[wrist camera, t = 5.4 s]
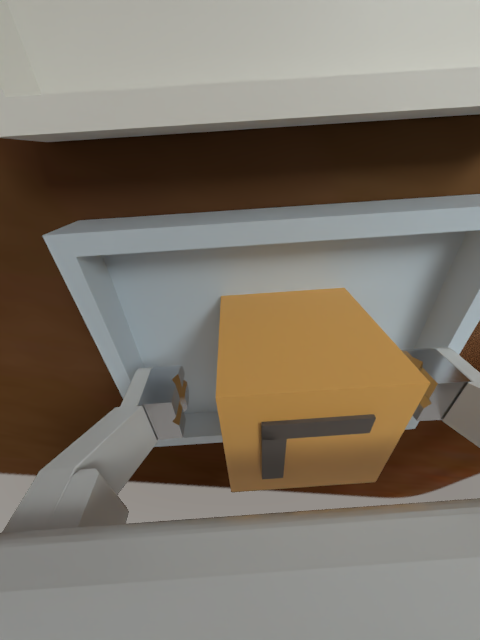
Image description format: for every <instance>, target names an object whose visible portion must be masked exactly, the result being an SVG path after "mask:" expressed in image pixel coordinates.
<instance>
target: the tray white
mask: <svg viewBox="0 0 480 640" xmlns="http://www.w3.org/2000/svg"><path fill="white" fill-rule="evenodd" d="M476 114H480V0H0V138H7V139H18V140H29V141H40V142H58V141H73V140H89V139H104V138H120V137H135V136H151V135H166V134H182V133H197V132H213V131H228V130H244V129H259V128H275V127H290V126H306V125H321V124H337V123H352V122H368V121H383V120H399V119H414V118H430V117H445V116H461V115H476Z"/></svg>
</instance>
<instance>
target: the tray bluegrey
mask: <svg viewBox="0 0 480 640" xmlns="http://www.w3.org/2000/svg"><path fill="white" fill-rule="evenodd" d="M42 236H43V238H44V240H45V242H46V244H47V246H48V248H49V250H50V252H51V254H52V256H53V258H54V261H55V263H56V265H57V267H58V269H59V271H60V273H61V275H62V277H63V279H64V281H65V283H66V285H67V287H68V289H69V291H70V293H71V295H72V297H73V299H74V301H75V303H76V305H77V307H78V309H79V311H80V313H81V315H82V317H83V319H84V321H85V323H86V325H87V327H88V329H89V331H90V333H91V335H92V337H93V339H94V341H95V343H96V345H97V347H98V349H99V351H100V353H101V356H102V358H103V360H104V362H105V364H106V366H107V368H108V370H109V372H110V374H111V376H112V378H113V380H114V382H115V384H116V386H117V388H118V390H119V392H120V394H121V396H122V398H123V399H124V397H125V394H126V392H127V390H128V388H129V385H130V383H131V381H132V379H133V376H134V374H135V372H136V370H137V369H139V368H148V367H162V366H183V369H184V372H185V375H184V380H185V381H186V382H187V384H188V389H189V403H188V409H187V410H186V411H185V412H184V415H185V418H186V422H185V428H184V434H183V438H173V439H163V440H157V441H158V442H157V443H156V445H155V446H154V447H162V446H176V445H190V444H205V443H219V442H223V439H222V433H221V427H220V422H219V416H218V410H217V404H216V379H217V360H218V341H219V322H220V303H221V296H228V295H243V294H258V293H272V292H287V291H302V290H317V289H332V288H345V289H346V290H347V291H348V292H349V293H350V294H351V295H352V296H353V298H354V299H355V300H356V301H357V302H358V303H359V304H360V305H361V306H362V308H363V309H364V310H365V311H366V312H367V313H368V314H369V315H370V316H371V317H372V319H373V320H374V321H375V322H376V323H377V324H378V325H379V326H380V327H381V329H382V330H383V331H384V332H385V333H386V334H387V335H388V336H389V337H390V339H391V340H392V341H393V342H394V343H395V344H396V345H397V346H398V347H399V348H400V350H409V349H422V348H433V347H445V346H446V347H448V348H451V349H452V350H453V351H455V352H456V353H457V354H458V355H459V354H460V352H461V350H462V349H463V347H464V345H465V344H466V342H467V340H468V339H469V337H470V335H471V334H472V332H473V330H474V329H475V327H476V325H477V324H478V322H479V320H480V194H473V195H458V196H443V197H427V198H412V199H397V200H382V201H367V202H351V203H336V204H321V205H306V206H291V207H276V208H260V209H245V210H230V211H215V212H200V213H185V214H169V215H154V216H139V217H124V218H109V219H93V220H78V221H76V222H74V223H71V224H69V225H66V226H64V227H62V228H59V229H57V230H54V231H52V232H49V233H47V234H45V235H42ZM418 423H419V421H416V420H415V418H414V417H413V416H412V417H411V419H410V421H409V423H408V425H407V426H406V428H405V429H415V428H416V426H417V424H418Z"/></svg>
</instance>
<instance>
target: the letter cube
mask: <svg viewBox="0 0 480 640" xmlns="http://www.w3.org/2000/svg"><path fill="white" fill-rule="evenodd" d="M429 385H430V382H429V381H428V379H427V378H426V377H425V376H424V375H423V374H422V373H421V372H420V371H419V370H418V368H417V367H416V366H415V365H414V364H413V363H412V362H411V361H410V360H409V358H408V357H407V356H406V355H405V354H404V353H403V352H402V351H401V350H400V348H399V347H398V346H397V345H396V344H395V343H394V342H393V341H392V340H391V339H390V337H389V336H388V335H387V334H386V333H385V332H384V331H383V330H382V329H381V327H380V326H379V325H378V324H377V323H376V322H375V321H374V320H373V319H372V317H371V316H370V315H369V314H368V313H367V312H366V311H365V310H364V309H363V308H362V306H361V305H360V304H359V303H358V302H357V301H356V300H355V299H354V298H353V296H352V295H351V294H350V293H349V292H348V291H347V290H346V289H345V288H332V289H317V290H302V291H287V292H272V293H258V294H243V295H228V296H221V303H220V322H219V341H218V360H217V379H216V404H217V410H218V416H219V422H220V427H221V433H222V439H223V445H224V451H225V457H226V463H227V469H228V475H229V481H230V487H231V492H241V491H256V490H270V489H285V488H299V487H313V486H327V485H341V484H356V483H370V482H376V480H377V479H378V477H379V475H380V473H381V471H382V470H383V468H384V466H385V464H386V462H387V461H388V459H389V457H390V455H391V453H392V452H393V450H394V448H395V446H396V444H397V443H398V441H399V439H400V437H401V435H402V434H403V432H404V430H405V428H406V426H407V425H408V423H409V421H410V419H411V417H412V416H413V414H414V412H415V410H416V408H417V407H418V405H419V403H420V401H421V399H422V398H423V396H424V394H425V392H426V390H427V389H428V387H429Z"/></svg>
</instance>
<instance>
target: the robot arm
mask: <svg viewBox="0 0 480 640" xmlns="http://www.w3.org/2000/svg"><path fill="white" fill-rule="evenodd" d="M401 351H402V352H403V353H404V354H405V355H406V356H407V357H408V358H409V360H410V361H411V362H412V363H413V364H414V365H415V366H416V367H417V368H418V370H419V371H420V372H421V373H422V374H423V375H424V376H425V377H426V378H427V379H428V381H429V382H430V385H429V387H428V389H427V390H426V392H425V394H424V396H423V398H422V399H421V401H420V403H419V405H418V407H417V408H416V410H415V412H414V414H413V417H414V418H415V420H416V421H428V420H443V422H444V423H445V424H447V425H448V426H450V427H451V428H453V429H454V430H455V431H457V432H458V433H460V434H461V435H462V436H464V437H465V438H467V439H468V440H469V441H471V442H472V443H474V444H475V445H477V446H478V447H479V448H480V372H478V371H477V370H476V369H475V368H474V367H472V366H471V365H470V364H469V363H468V362H467V361H465V360H464V359H463V358H462V357H461V356H459V355H458V354H457V353H456V352H455V351H453V350H452V349H451V348H448V347H446V346H445V347H433V348H422V349H409V350H401ZM184 375H185V372H184V369H183V366H162V367H148V368H139V369H137V370H136V372H135V374H134V376H133V379H132V381H131V383H130V385H129V388H128V390H127V392H126V394H125V397H124V399H123V401H122V403H121V406H120V407H115V408H114V409H113V410H112V411H110V412H109V413H108V414H107V415H106V416H104V417H103V418H102V419H101V420H100V421H98V422H97V423H96V424H95V425H94V426H93V427H91V428H90V429H89V430H88V431H87V432H85V433H84V434H83V435H82V436H81V437H79V438H78V439H77V440H76V441H75V442H73V443H72V444H71V445H70V446H69V447H67V448H66V449H65V450H64V451H63V452H62V453H60V454H59V455H58V456H57V457H56V458H54V459H53V460H52V461H51V462H50V463H48V464H47V465H46V466H45V467H44V468H42V469H41V470H40V471H39V473H38V474H37V476H36V478H35V479H34V481H33V483H32V484H31V486H30V488H29V489H28V491H27V493H26V494H25V496H24V497H23V499H22V501H21V503H20V504H19V506H18V507H17V509H16V511H15V512H14V514H13V515H12V517H11V519H10V520H9V522H8V524H7V525H6V527H5V529H4V530H3V532H2V533H0V640H480V498H478V499H467V500H466V499H465V500H452V501H451V500H450V501H437V502H424V503H409V504H395V505H381V506H367V507H353V508H339V509H325V510H311V511H297V512H285V513H269V514H256V515H242V516H228V517H214V518H200V519H186V520H172V521H159V522H145V523H132V524H126V520H127V517H128V513H129V511H128V509H127V507H126V506H125V505H124V503H123V502H122V501H121V500H120V498H119V497H118V496H117V495H118V493H119V492H120V491H121V489H122V488H123V487H124V485H125V484H126V483H127V482H128V480H129V479H130V478H131V476H132V475H133V474H134V472H135V471H136V470H137V468H138V467H139V466H140V464H141V463H142V462H143V460H144V459H145V458H146V456H147V455H148V454H149V453H150V451H151V450H152V449H153V447H154V446H155V445H156V443H157V442H158V441H157V440H163V439H173V438H183V434H184V428H185V422H186V418H185V415H184V412H185V411H186V410H187V409H188V403H189V389H188V384H187V382H186V381H185V380H184Z"/></svg>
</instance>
